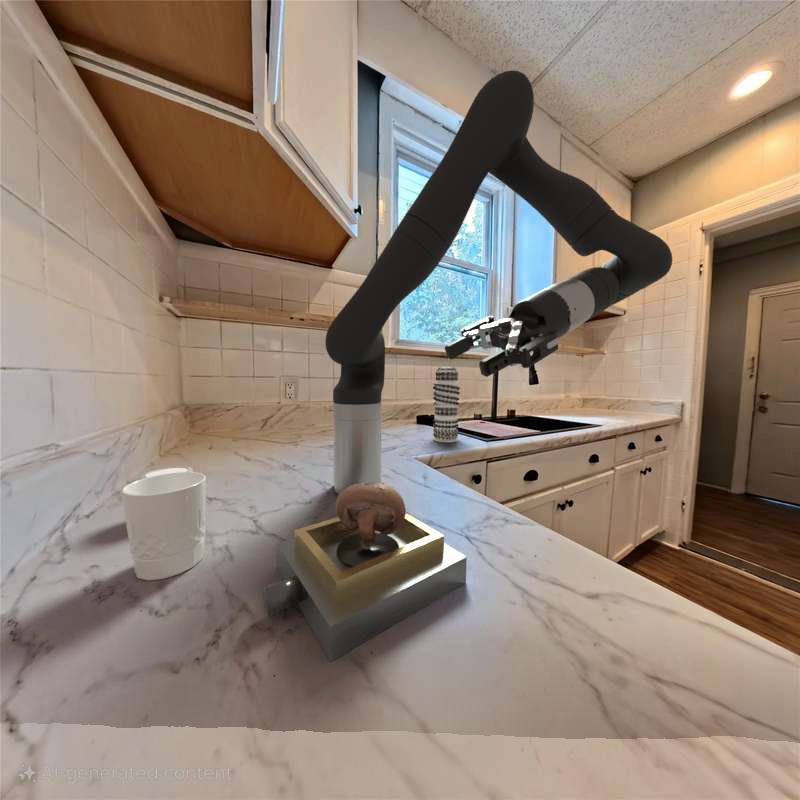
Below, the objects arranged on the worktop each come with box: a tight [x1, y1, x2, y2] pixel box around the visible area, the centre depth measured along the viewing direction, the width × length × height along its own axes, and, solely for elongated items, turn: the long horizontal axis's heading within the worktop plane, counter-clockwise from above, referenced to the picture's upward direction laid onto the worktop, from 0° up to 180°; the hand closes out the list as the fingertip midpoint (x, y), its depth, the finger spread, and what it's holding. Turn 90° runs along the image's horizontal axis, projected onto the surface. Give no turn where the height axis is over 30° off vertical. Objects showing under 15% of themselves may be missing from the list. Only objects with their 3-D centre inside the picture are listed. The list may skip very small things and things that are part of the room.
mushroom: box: [334, 482, 407, 550], centre depth 35 cm, size 8×6×8 cm
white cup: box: [121, 471, 207, 581], centre depth 37 cm, size 8×8×10 cm
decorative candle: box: [432, 366, 461, 443], centre depth 107 cm, size 9×9×25 cm
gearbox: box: [262, 512, 468, 663], centre depth 35 cm, size 17×19×5 cm
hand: (463, 361), depth 44 cm, fingers open, 8 cm apart
